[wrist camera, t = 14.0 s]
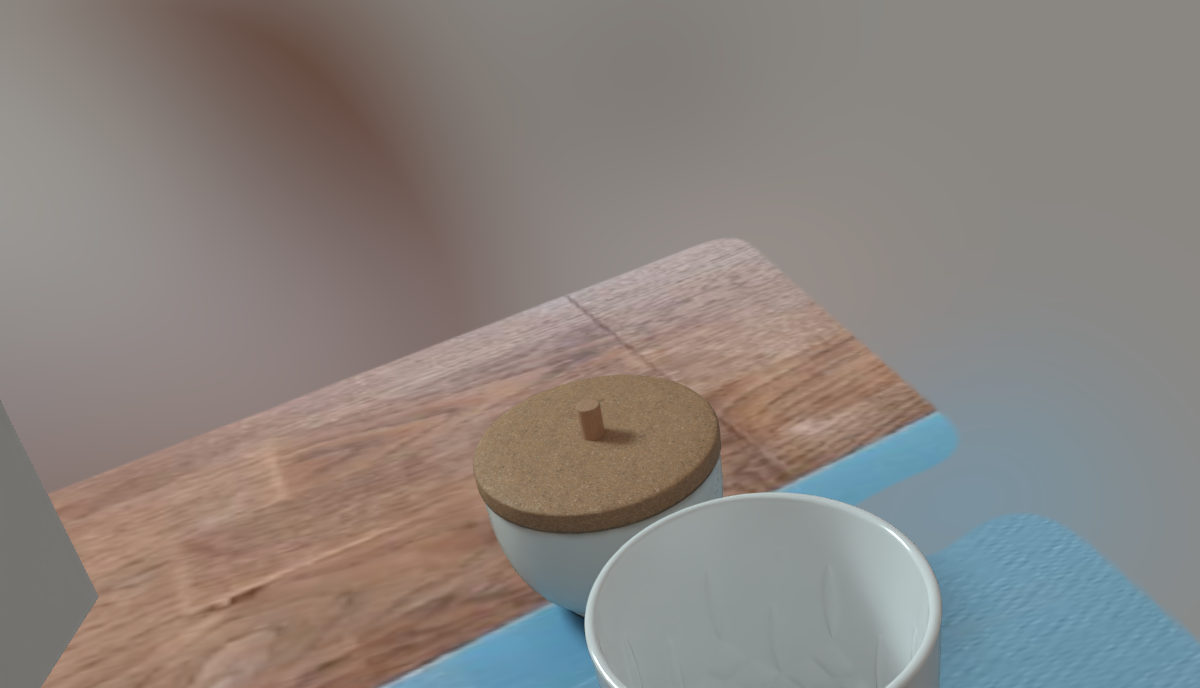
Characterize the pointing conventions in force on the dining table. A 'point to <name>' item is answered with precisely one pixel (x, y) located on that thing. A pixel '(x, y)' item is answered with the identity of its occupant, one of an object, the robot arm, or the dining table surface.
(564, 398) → the lidded jar
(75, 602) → the robot arm
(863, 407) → the dining table surface
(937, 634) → the white cup
